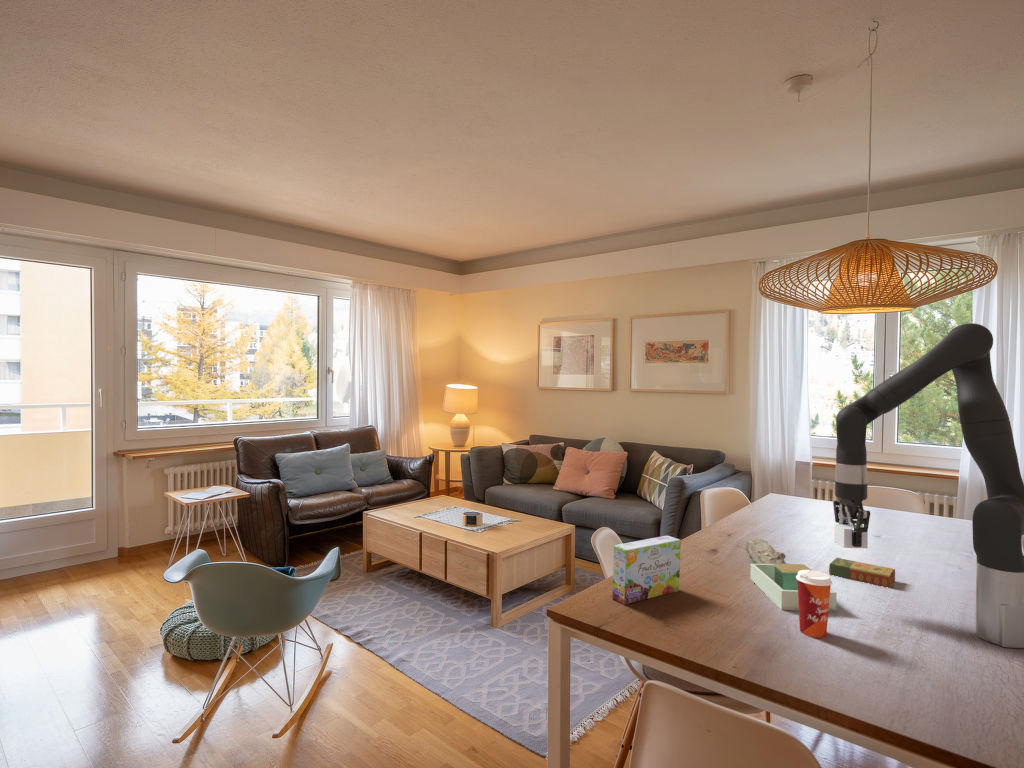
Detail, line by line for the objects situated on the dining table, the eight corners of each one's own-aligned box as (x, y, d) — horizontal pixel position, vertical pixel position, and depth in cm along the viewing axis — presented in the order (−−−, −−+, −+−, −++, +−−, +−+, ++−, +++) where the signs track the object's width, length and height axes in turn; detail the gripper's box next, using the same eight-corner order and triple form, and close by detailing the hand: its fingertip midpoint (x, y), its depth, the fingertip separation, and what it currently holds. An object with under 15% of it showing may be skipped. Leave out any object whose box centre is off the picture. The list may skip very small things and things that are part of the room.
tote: (836, 611, 146) (836, 592, 146) (781, 609, 147) (781, 590, 147) (797, 581, 168) (798, 564, 168) (750, 579, 169) (750, 563, 169)
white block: (867, 548, 148) (867, 529, 148) (844, 547, 148) (844, 528, 148) (857, 543, 153) (857, 524, 153) (834, 542, 153) (834, 524, 153)
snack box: (626, 606, 149) (626, 549, 148) (611, 599, 153) (612, 544, 153) (680, 591, 160) (681, 538, 160) (665, 584, 165) (666, 533, 164)
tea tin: (813, 596, 154) (813, 571, 154) (782, 595, 155) (782, 570, 155) (803, 588, 160) (803, 564, 160) (773, 588, 161) (773, 563, 160)
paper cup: (816, 642, 129) (817, 582, 129) (787, 628, 136) (788, 571, 136) (839, 636, 132) (840, 577, 132) (810, 623, 139) (811, 567, 139)
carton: (889, 589, 164) (889, 575, 164) (828, 576, 175) (828, 562, 175) (895, 582, 170) (895, 568, 170) (835, 569, 181) (835, 556, 181)
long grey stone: (770, 550, 205) (741, 549, 207) (769, 535, 205) (740, 535, 207) (793, 577, 171) (758, 576, 173) (792, 560, 171) (757, 559, 173)
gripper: (881, 485, 143) (881, 551, 143) (850, 476, 158) (850, 536, 158) (851, 485, 144) (851, 551, 144) (823, 476, 158) (822, 536, 158)
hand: (850, 543), depth 151 cm, fingers closed on white block, 5 cm apart
